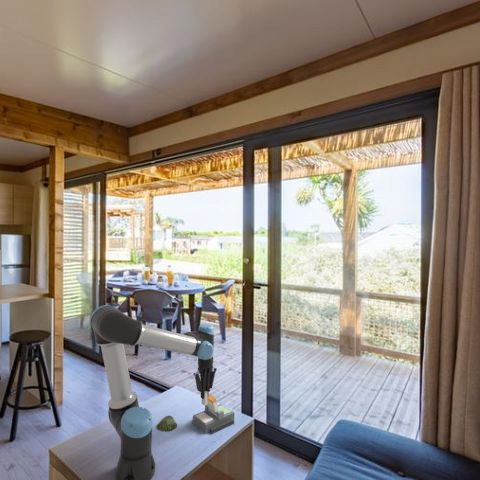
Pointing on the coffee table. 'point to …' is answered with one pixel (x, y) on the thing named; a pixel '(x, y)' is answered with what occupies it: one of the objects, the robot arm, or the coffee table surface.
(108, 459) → the coffee table surface
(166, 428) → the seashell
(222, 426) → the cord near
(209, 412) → the stepped grey box
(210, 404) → the lever
